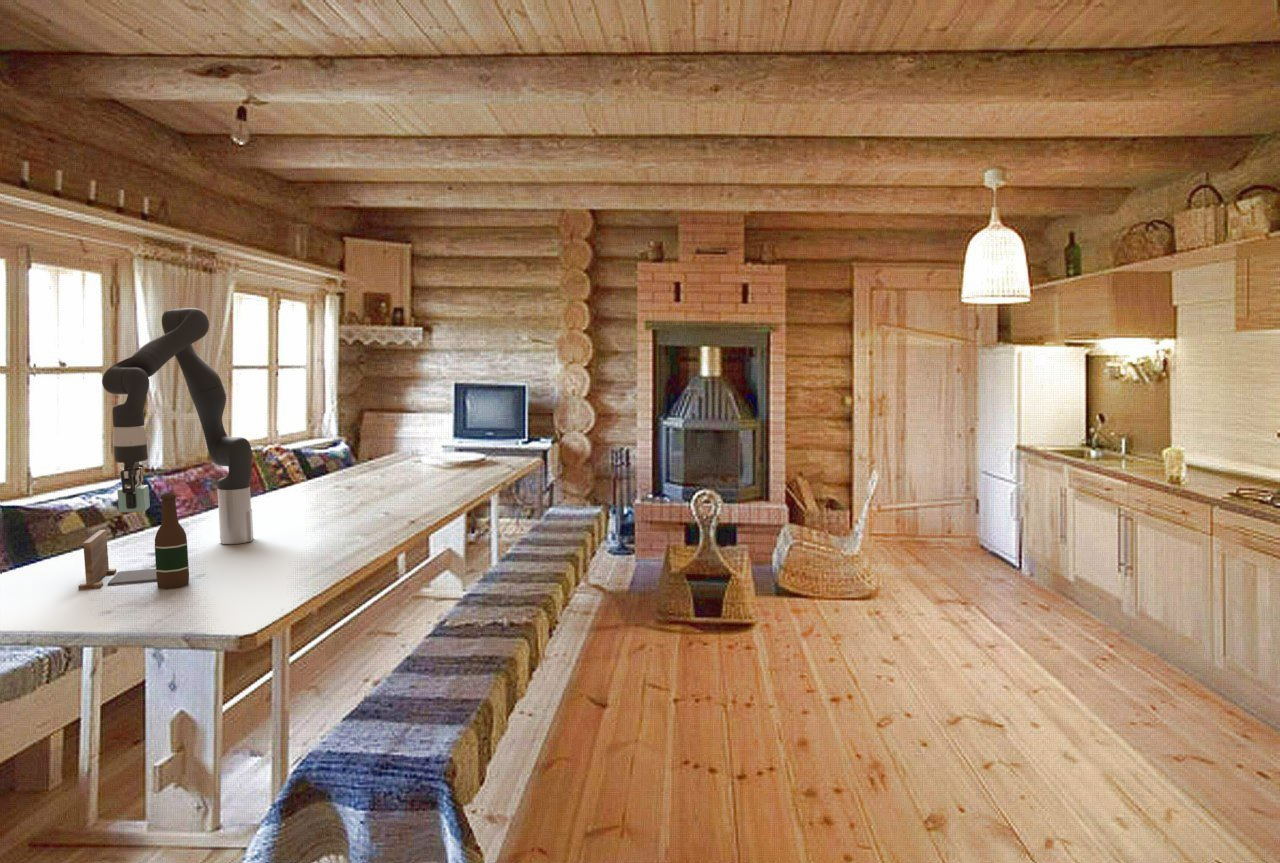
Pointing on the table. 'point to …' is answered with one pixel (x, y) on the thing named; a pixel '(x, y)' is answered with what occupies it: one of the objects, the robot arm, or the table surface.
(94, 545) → the wooden footed board
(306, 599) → the table surface
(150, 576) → the mat
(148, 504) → the letter cube
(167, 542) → the beer bottle
